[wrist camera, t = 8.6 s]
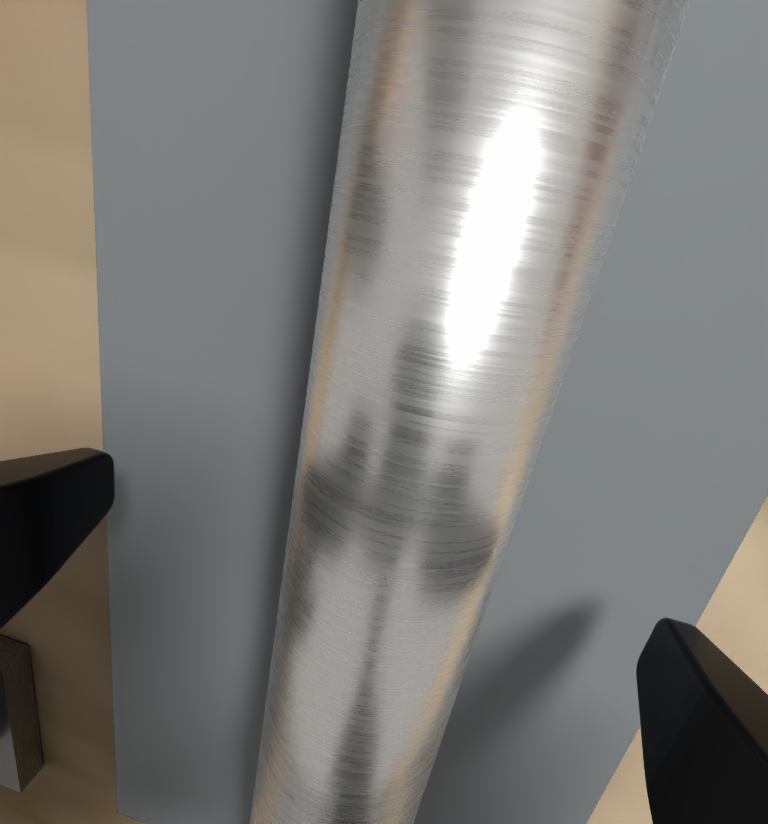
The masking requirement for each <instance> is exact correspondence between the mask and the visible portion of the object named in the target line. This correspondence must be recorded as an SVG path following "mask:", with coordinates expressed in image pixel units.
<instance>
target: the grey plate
mask: <svg viewBox="0 0 768 824" xmlns="http://www.w3.org/2000/svg"><path fill="white" fill-rule="evenodd" d="M357 6H358V0H87V25H88V51H89V78H90V105H91V131H92V158H93V184H94V211H95V238H96V264H97V291H98V317H99V344H100V371H101V397H102V424H103V451H104V452H105V453H108V454H110V455H111V456H112V458H113V460H114V479H115V498H114V502H113V505H112V507H111V509H110V510H109V512H108V513H107V514H106V530H107V557H108V584H109V610H110V637H111V663H112V690H113V717H114V743H115V770H116V796H117V813H120V814H122V815H125V816H127V817H130V818H132V819H135V820H137V821H140V822H142V823H145V824H250V819H251V811H252V804H253V796H254V788H255V781H256V773H257V766H258V758H259V750H260V743H261V735H262V728H263V720H264V712H265V705H266V697H267V690H268V682H269V674H270V667H271V659H272V652H273V644H274V636H275V629H276V621H277V614H278V606H279V598H280V591H281V583H282V576H283V568H284V561H285V553H286V545H287V538H288V530H289V523H290V515H291V507H292V500H293V492H294V485H295V477H296V469H297V462H298V454H299V447H300V439H301V431H302V424H303V416H304V409H305V401H306V393H307V386H308V378H309V371H310V363H311V355H312V348H313V340H314V333H315V325H316V317H317V310H318V302H319V295H320V287H321V279H322V272H323V264H324V257H325V249H326V241H327V234H328V226H329V219H330V211H331V204H332V196H333V188H334V181H335V173H336V166H337V158H338V150H339V143H340V135H341V128H342V120H343V112H344V105H345V97H346V90H347V82H348V74H349V67H350V59H351V52H352V44H353V36H354V29H355V21H356V14H357ZM767 495H768V0H691V3H690V6H689V9H688V12H687V15H686V17H685V20H684V23H683V26H682V29H681V32H680V35H679V38H678V41H677V44H676V47H675V50H674V53H673V56H672V59H671V62H670V65H669V68H668V71H667V74H666V77H665V80H664V83H663V86H662V89H661V92H660V94H659V97H658V100H657V103H656V106H655V109H654V112H653V115H652V118H651V121H650V124H649V127H648V130H647V133H646V136H645V139H644V142H643V145H642V148H641V151H640V154H639V157H638V160H637V163H636V166H635V169H634V172H633V174H632V177H631V180H630V183H629V186H628V189H627V192H626V195H625V198H624V201H623V204H622V207H621V210H620V213H619V216H618V219H617V222H616V225H615V228H614V231H613V234H612V237H611V240H610V243H609V246H608V249H607V252H606V254H605V257H604V260H603V263H602V266H601V269H600V272H599V275H598V278H597V281H596V284H595V287H594V290H593V293H592V296H591V299H590V302H589V305H588V308H587V311H586V314H585V317H584V320H583V323H582V326H581V329H580V331H579V334H578V337H577V340H576V343H575V346H574V349H573V352H572V355H571V358H570V361H569V364H568V367H567V370H566V373H565V376H564V379H563V382H562V385H561V388H560V391H559V394H558V397H557V400H556V403H555V406H554V409H553V411H552V414H551V417H550V420H549V423H548V426H547V429H546V432H545V435H544V438H543V441H542V444H541V447H540V450H539V453H538V456H537V459H536V462H535V465H534V468H533V471H532V474H531V477H530V480H529V483H528V486H527V489H526V491H525V494H524V497H523V500H522V503H521V506H520V509H519V512H518V515H517V518H516V521H515V524H514V527H513V530H512V533H511V536H510V539H509V542H508V545H507V548H506V551H505V554H504V557H503V560H502V563H501V566H500V568H499V571H498V574H497V577H496V580H495V583H494V586H493V589H492V592H491V595H490V598H489V601H488V604H487V607H486V610H485V613H484V616H483V619H482V622H481V625H480V628H479V631H478V634H477V637H476V640H475V643H474V646H473V648H472V651H471V654H470V657H469V660H468V663H467V666H466V669H465V672H464V675H463V678H462V681H461V684H460V687H459V690H458V693H457V696H456V699H455V702H454V705H453V708H452V711H451V714H450V717H449V720H448V723H447V726H446V728H445V731H444V734H443V737H442V740H441V743H440V746H439V749H438V752H437V755H436V758H435V761H434V764H433V767H432V770H431V773H430V776H429V779H428V782H427V785H426V788H425V791H424V794H423V797H422V800H421V803H420V805H419V808H418V811H417V814H416V817H415V820H414V823H413V824H586V823H587V821H588V820H589V818H590V816H591V814H592V812H593V810H594V809H595V807H596V805H597V803H598V801H599V800H600V798H601V796H602V794H603V792H604V791H605V789H606V787H607V785H608V783H609V781H610V780H611V778H612V776H613V774H614V772H615V771H616V769H617V767H618V765H619V763H620V762H621V760H622V758H623V756H624V754H625V753H626V751H627V749H628V747H629V745H630V743H631V742H632V740H633V738H634V736H635V734H636V733H637V731H638V729H639V727H640V714H639V702H638V691H637V679H636V667H637V662H638V659H639V656H640V654H641V652H642V650H643V648H644V646H645V644H646V642H647V641H648V639H649V637H650V635H651V633H652V631H653V629H654V627H655V625H656V623H657V622H658V621H659V620H660V619H662V618H665V617H667V618H671V619H674V620H678V621H681V622H685V623H688V624H691V625H693V626H696V624H697V622H698V620H699V619H700V617H701V615H702V613H703V611H704V609H705V608H706V606H707V604H708V602H709V600H710V599H711V597H712V595H713V593H714V591H715V590H716V588H717V586H718V584H719V582H720V581H721V579H722V577H723V575H724V573H725V571H726V570H727V568H728V566H729V564H730V562H731V561H732V559H733V557H734V555H735V553H736V552H737V550H738V548H739V546H740V544H741V542H742V541H743V539H744V537H745V535H746V533H747V532H748V530H749V528H750V526H751V524H752V523H753V521H754V519H755V517H756V515H757V514H758V512H759V510H760V508H761V506H762V504H763V503H764V501H765V499H766V497H767Z"/></svg>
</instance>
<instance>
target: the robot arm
mask: <svg viewBox="0 0 768 824" xmlns="http://www.w3.org/2000/svg"><path fill="white" fill-rule="evenodd" d="M114 498H115V479H114V460H113V458H112V456H111V455H110V454H108V453H105V452H102V451H99V450H95V449H92V448H79V449H73V450H67V451H61V452H55V453H49V454H43V455H36V456H30V457H24V458H18V459H12V460H6V461H0V629H1V628H2V627H3V626H4V625H5V624H6V623H7V622H8V621H9V620H11V619H12V618H13V617H14V616H15V615H16V614H17V613H18V612H19V611H20V610H21V609H22V608H23V607H24V606H25V605H26V604H27V603H28V602H29V601H30V600H31V599H32V598H33V597H34V596H35V595H36V594H37V593H38V592H39V591H40V590H41V589H42V588H43V587H44V586H45V585H46V584H47V583H48V582H49V581H50V579H51V578H52V577H53V576H54V575H55V574H56V573H57V572H58V571H59V569H60V568H61V567H62V566H63V565H64V563H65V562H66V561H67V560H68V559H69V558H70V556H71V555H72V554H73V553H74V552H75V551H76V549H77V548H78V547H79V546H80V545H81V544H82V542H83V541H84V540H85V539H86V538H87V537H88V535H89V534H90V533H91V532H92V531H93V529H94V528H95V527H96V526H97V525H98V524H99V522H100V521H101V520H102V519H103V518H104V517H105V515H106V514H107V513H108V512H109V510H110V509H111V507H112V505H113V502H114ZM636 679H637V691H638V702H639V714H640V725H641V736H642V748H643V759H644V770H645V778H646V787H647V793H648V799H649V805H650V810H651V815H652V821H653V824H768V695H767V694H766V693H765V692H764V691H763V690H762V689H761V688H760V687H759V686H758V685H757V684H756V683H755V682H754V681H753V680H752V679H751V678H749V677H748V676H747V675H746V674H745V673H744V672H743V671H742V670H741V669H740V668H739V667H738V666H737V665H736V664H735V663H734V662H732V661H731V660H730V659H729V658H728V657H727V656H726V655H725V654H724V653H723V652H722V651H721V650H720V649H719V648H718V647H717V646H716V645H714V644H713V643H712V642H711V641H710V640H709V639H708V638H707V637H706V636H705V635H704V634H703V633H702V632H701V631H700V630H699V629H698V628H696V627H695V626H693V625H691V624H688V623H685V622H681V621H678V620H674V619H671V618H667V617H665V618H662V619H660V620H659V621H658V622H657V623H656V625H655V627H654V629H653V631H652V633H651V635H650V637H649V639H648V641H647V642H646V644H645V646H644V648H643V650H642V652H641V654H640V656H639V659H638V662H637V667H636Z"/></svg>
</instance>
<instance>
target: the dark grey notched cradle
mask: <svg viewBox="0 0 768 824" xmlns="http://www.w3.org/2000/svg"><path fill="white" fill-rule="evenodd" d="M42 767H43V758H42V750H41V742H40V733H39V725H38V717H37V709H36V701H35V692H34V684H33V676H32V668H31V660H30V651H29V646H28V645H25V644H23V643H20V642H17V641H14V640H12V639H9V638H6V637H3V636H0V785H2V786H4V787H7V788H9V789H12V790H14V791H16V792H19V793H21V792H22V791H23V790H24V789H25V787H26V786H27V785H28V784H29V783H30V782H31V780H32V779H33V778H34V777H35V776H36V774H37V773H38V772H39V771H40V770H41V769H42Z"/></svg>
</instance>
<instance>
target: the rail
mask: <svg viewBox="0 0 768 824" xmlns="http://www.w3.org/2000/svg"><path fill="white" fill-rule="evenodd" d="M690 3H691V0H358V6H357V14H356V21H355V29H354V36H353V44H352V52H351V59H350V67H349V74H348V82H347V90H346V97H345V105H344V112H343V120H342V128H341V135H340V143H339V150H338V158H337V166H336V173H335V181H334V188H333V196H332V204H331V211H330V219H329V226H328V234H327V241H326V249H325V257H324V264H323V272H322V279H321V287H320V295H319V302H318V310H317V317H316V325H315V333H314V340H313V348H312V355H311V363H310V371H309V378H308V386H307V393H306V401H305V409H304V416H303V424H302V431H301V439H300V447H299V454H298V462H297V469H296V477H295V485H294V492H293V500H292V507H291V515H290V523H289V530H288V538H287V545H286V553H285V561H284V568H283V576H282V583H281V591H280V598H279V606H278V614H277V621H276V629H275V636H274V644H273V652H272V659H271V667H270V674H269V682H268V690H267V697H266V705H265V712H264V720H263V728H262V735H261V743H260V750H259V758H258V766H257V773H256V781H255V788H254V796H253V804H252V811H251V819H250V824H413V823H414V820H415V817H416V814H417V811H418V808H419V805H420V803H421V800H422V797H423V794H424V791H425V788H426V785H427V782H428V779H429V776H430V773H431V770H432V767H433V764H434V761H435V758H436V755H437V752H438V749H439V746H440V743H441V740H442V737H443V734H444V731H445V728H446V726H447V723H448V720H449V717H450V714H451V711H452V708H453V705H454V702H455V699H456V696H457V693H458V690H459V687H460V684H461V681H462V678H463V675H464V672H465V669H466V666H467V663H468V660H469V657H470V654H471V651H472V648H473V646H474V643H475V640H476V637H477V634H478V631H479V628H480V625H481V622H482V619H483V616H484V613H485V610H486V607H487V604H488V601H489V598H490V595H491V592H492V589H493V586H494V583H495V580H496V577H497V574H498V571H499V568H500V566H501V563H502V560H503V557H504V554H505V551H506V548H507V545H508V542H509V539H510V536H511V533H512V530H513V527H514V524H515V521H516V518H517V515H518V512H519V509H520V506H521V503H522V500H523V497H524V494H525V491H526V489H527V486H528V483H529V480H530V477H531V474H532V471H533V468H534V465H535V462H536V459H537V456H538V453H539V450H540V447H541V444H542V441H543V438H544V435H545V432H546V429H547V426H548V423H549V420H550V417H551V414H552V411H553V409H554V406H555V403H556V400H557V397H558V394H559V391H560V388H561V385H562V382H563V379H564V376H565V373H566V370H567V367H568V364H569V361H570V358H571V355H572V352H573V349H574V346H575V343H576V340H577V337H578V334H579V331H580V329H581V326H582V323H583V320H584V317H585V314H586V311H587V308H588V305H589V302H590V299H591V296H592V293H593V290H594V287H595V284H596V281H597V278H598V275H599V272H600V269H601V266H602V263H603V260H604V257H605V254H606V252H607V249H608V246H609V243H610V240H611V237H612V234H613V231H614V228H615V225H616V222H617V219H618V216H619V213H620V210H621V207H622V204H623V201H624V198H625V195H626V192H627V189H628V186H629V183H630V180H631V177H632V174H633V172H634V169H635V166H636V163H637V160H638V157H639V154H640V151H641V148H642V145H643V142H644V139H645V136H646V133H647V130H648V127H649V124H650V121H651V118H652V115H653V112H654V109H655V106H656V103H657V100H658V97H659V94H660V92H661V89H662V86H663V83H664V80H665V77H666V74H667V71H668V68H669V65H670V62H671V59H672V56H673V53H674V50H675V47H676V44H677V41H678V38H679V35H680V32H681V29H682V26H683V23H684V20H685V17H686V15H687V12H688V9H689V6H690Z"/></svg>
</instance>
